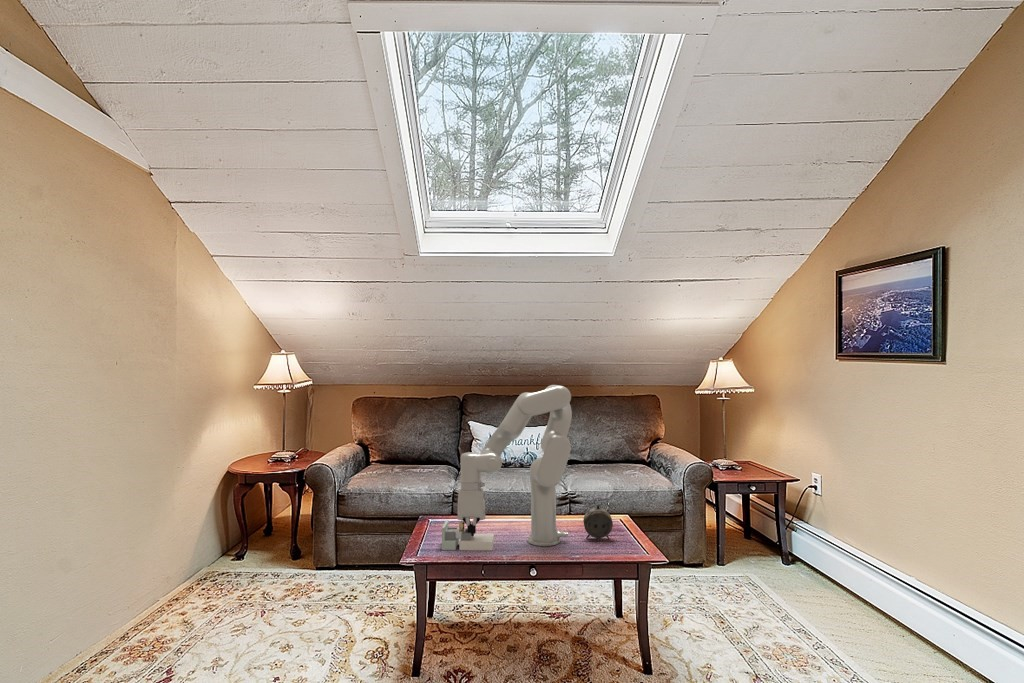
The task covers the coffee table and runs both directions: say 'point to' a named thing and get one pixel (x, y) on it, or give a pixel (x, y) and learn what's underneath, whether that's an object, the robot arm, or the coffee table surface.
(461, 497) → the robot arm
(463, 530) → the bolt
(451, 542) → the door jamb
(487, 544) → the door board
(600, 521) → the alarm clock
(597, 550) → the coffee table surface
